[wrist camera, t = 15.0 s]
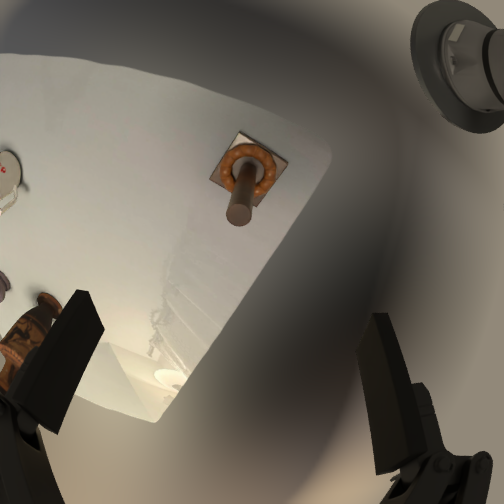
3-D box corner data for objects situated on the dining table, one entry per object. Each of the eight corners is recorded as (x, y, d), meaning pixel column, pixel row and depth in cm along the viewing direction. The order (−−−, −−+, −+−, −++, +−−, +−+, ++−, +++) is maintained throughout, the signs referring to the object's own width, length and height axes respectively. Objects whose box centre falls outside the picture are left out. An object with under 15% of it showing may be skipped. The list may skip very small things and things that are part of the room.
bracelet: (286, 163, 38) (287, 166, 36) (256, 204, 41) (255, 209, 40) (239, 133, 36) (238, 135, 34) (210, 177, 39) (208, 181, 38)
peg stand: (288, 162, 39) (298, 205, 26) (256, 204, 42) (251, 264, 30) (239, 131, 37) (223, 158, 24) (210, 176, 40) (183, 225, 28)
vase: (30, 295, 58) (-24, 379, 33) (44, 282, 55) (-19, 376, 30) (56, 323, 63) (10, 409, 38) (73, 313, 60) (21, 411, 35)
